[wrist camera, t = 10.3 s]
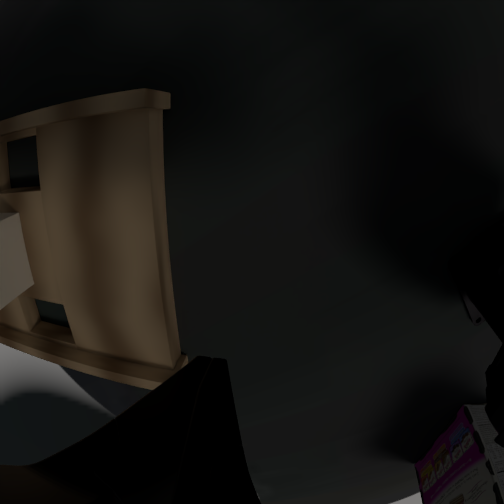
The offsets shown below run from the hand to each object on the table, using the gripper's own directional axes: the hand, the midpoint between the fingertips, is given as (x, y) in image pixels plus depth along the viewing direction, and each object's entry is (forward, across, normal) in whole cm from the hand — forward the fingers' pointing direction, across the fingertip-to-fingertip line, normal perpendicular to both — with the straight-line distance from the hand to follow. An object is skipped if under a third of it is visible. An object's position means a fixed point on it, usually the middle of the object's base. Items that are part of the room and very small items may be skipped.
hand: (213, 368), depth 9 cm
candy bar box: (+12, -22, +21) cm, 33 cm away
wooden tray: (+12, +17, +1) cm, 21 cm away
